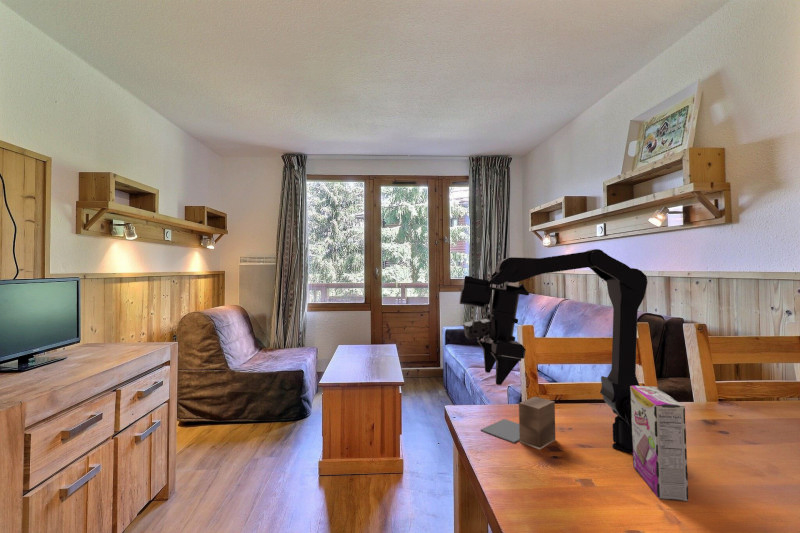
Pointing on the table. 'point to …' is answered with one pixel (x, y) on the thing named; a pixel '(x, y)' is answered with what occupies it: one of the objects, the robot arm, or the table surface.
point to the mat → (504, 430)
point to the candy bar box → (659, 442)
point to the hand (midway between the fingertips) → (492, 378)
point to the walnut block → (537, 422)
